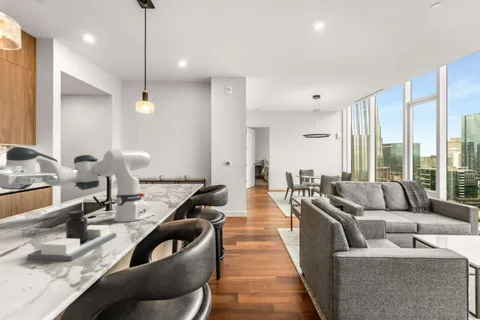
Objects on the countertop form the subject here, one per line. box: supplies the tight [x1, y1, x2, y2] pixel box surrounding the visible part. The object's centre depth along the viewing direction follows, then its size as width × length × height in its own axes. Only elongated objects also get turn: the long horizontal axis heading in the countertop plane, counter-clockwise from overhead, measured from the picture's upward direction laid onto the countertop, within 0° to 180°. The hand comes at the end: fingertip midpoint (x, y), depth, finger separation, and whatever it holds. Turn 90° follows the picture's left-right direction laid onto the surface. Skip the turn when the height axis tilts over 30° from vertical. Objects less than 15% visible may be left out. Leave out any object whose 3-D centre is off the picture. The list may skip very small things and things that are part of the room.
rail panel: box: [27, 224, 117, 262], centre depth 91 cm, size 24×16×5 cm, turn 175°
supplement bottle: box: [65, 210, 88, 244], centre depth 91 cm, size 7×7×12 cm
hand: (45, 179), depth 92 cm, fingers open, 8 cm apart
